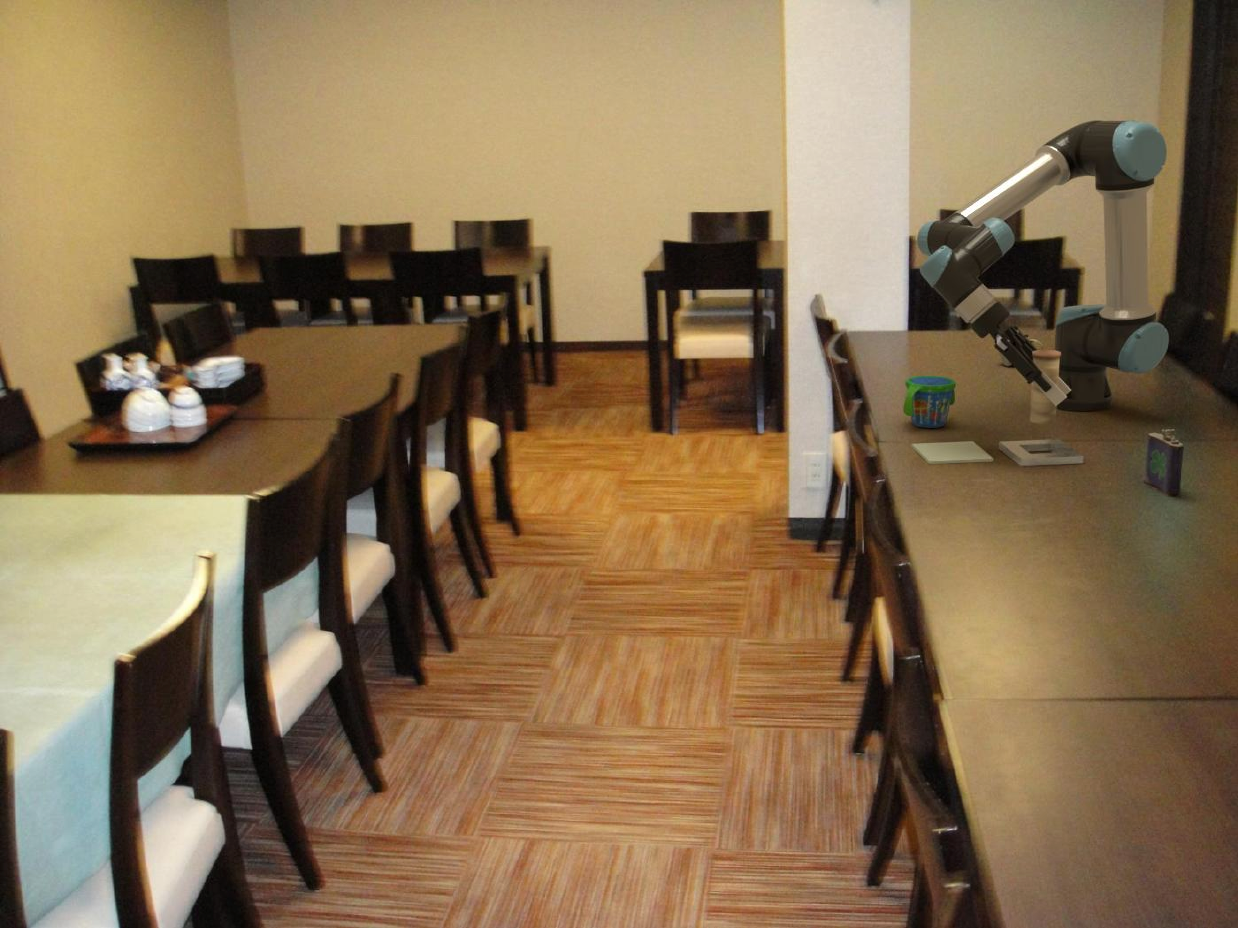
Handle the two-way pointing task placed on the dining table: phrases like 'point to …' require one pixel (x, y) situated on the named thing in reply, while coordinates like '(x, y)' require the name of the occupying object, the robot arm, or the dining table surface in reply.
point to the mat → (951, 452)
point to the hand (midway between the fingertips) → (1063, 397)
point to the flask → (1164, 463)
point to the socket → (1057, 447)
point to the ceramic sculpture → (1033, 342)
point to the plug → (1040, 403)
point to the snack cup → (929, 400)
